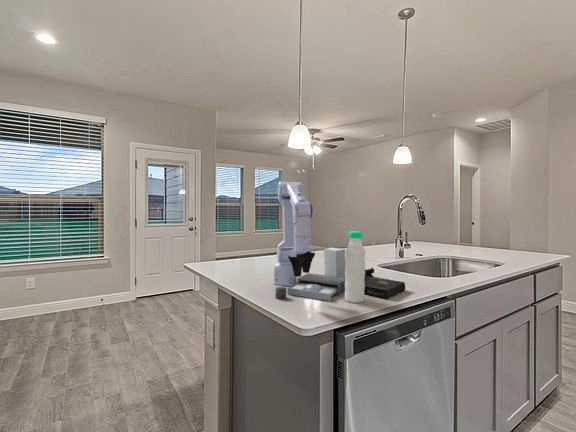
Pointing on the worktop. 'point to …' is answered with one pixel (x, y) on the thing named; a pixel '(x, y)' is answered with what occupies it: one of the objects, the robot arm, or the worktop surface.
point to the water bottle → (355, 269)
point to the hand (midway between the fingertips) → (301, 274)
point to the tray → (312, 292)
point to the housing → (324, 281)
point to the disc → (313, 287)
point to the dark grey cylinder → (280, 293)
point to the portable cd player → (382, 287)
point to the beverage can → (369, 272)
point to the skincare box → (334, 262)
